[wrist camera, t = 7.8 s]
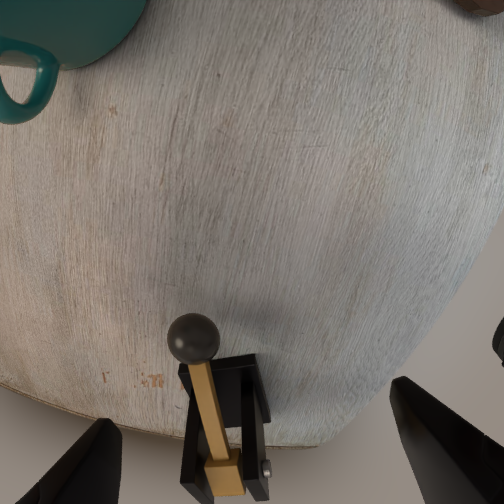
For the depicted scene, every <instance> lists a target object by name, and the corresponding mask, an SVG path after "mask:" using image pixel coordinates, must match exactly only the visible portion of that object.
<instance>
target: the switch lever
mask: <svg viewBox="0 0 504 504" xmlns="http://www.w3.org/2000/svg"><path fill="white" fill-rule="evenodd" d="M167 343H168V347H169V350H170V352H171V353H172V355H173V356H174V357H175V358H176V359H177V360H179V361H180V362H182V363H184V364H187V365H188V367H189V371H190V375H191V379H192V384H193V388H194V392H195V396H196V400H197V404H198V407H199V411H200V415H201V419H202V422H203V426H204V430H205V433H206V437H207V440H208V444H209V447H210V452H209V455H208V458H207V461H206V463H205V466H204V469H205V472H206V475H207V478H208V481H209V484H210V487H211V490H212V493H213V496H236V495H245V493H246V485H245V483H244V482H243V472H242V453H241V449H240V448H235V449H230V447H229V443H228V439H227V435H226V431H225V427H224V423H223V419H222V415H221V411H220V407H219V403H218V399H217V395H216V390H215V386H214V382H213V377H212V373H211V368H210V364H209V361H210V360H211V359H212V358H213V357H214V356H215V355H216V353H217V351H218V349H219V345H220V335H219V331H218V329H217V327H216V325H215V324H214V323H213V322H212V320H210V319H209V318H208V317H206V316H204V315H201V314H197V313H189V314H185V315H182V316H180V317H178V318H177V319H176V320H175V321H174V322H173V323H172V324H171V326H170V328H169V330H168V334H167Z"/></svg>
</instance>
